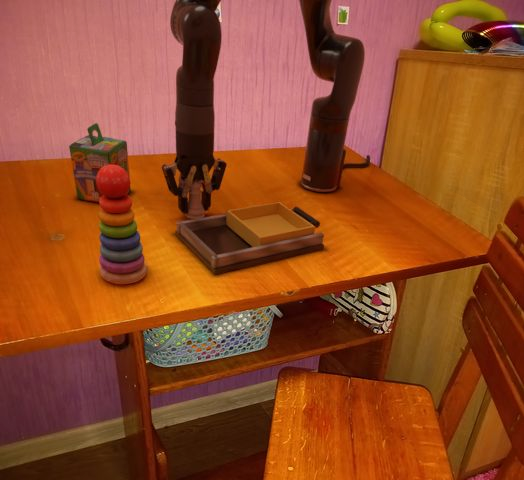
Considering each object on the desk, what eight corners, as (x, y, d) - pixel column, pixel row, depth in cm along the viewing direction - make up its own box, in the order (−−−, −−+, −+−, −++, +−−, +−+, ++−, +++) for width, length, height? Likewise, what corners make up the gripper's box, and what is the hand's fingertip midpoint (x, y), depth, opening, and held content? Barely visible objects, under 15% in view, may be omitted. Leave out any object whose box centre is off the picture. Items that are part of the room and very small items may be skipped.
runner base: (277, 215, 110) (279, 203, 108) (323, 249, 100) (326, 235, 98) (175, 234, 99) (175, 220, 97) (215, 274, 88) (215, 260, 86)
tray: (290, 212, 109) (292, 199, 107) (325, 237, 101) (328, 223, 99) (225, 224, 101) (226, 210, 100) (259, 252, 93) (260, 237, 91)
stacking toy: (155, 269, 88) (149, 164, 76) (132, 291, 82) (121, 180, 70) (116, 259, 89) (105, 154, 77) (91, 279, 83) (74, 169, 71)
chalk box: (115, 206, 106) (107, 135, 97) (75, 199, 107) (64, 128, 98) (132, 191, 113) (127, 123, 104) (95, 185, 114) (86, 117, 105)
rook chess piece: (184, 211, 108) (184, 175, 103) (205, 212, 108) (205, 176, 103) (183, 220, 104) (183, 183, 99) (204, 221, 105) (205, 184, 100)
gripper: (168, 135, 89) (171, 223, 100) (236, 130, 96) (232, 212, 106) (152, 124, 94) (156, 209, 105) (218, 119, 100) (215, 199, 111)
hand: (194, 210), depth 105 cm, fingers closed on rook chess piece, 4 cm apart
